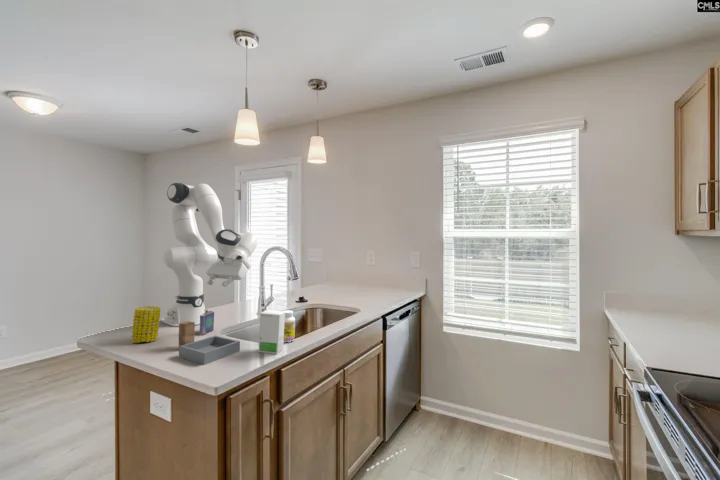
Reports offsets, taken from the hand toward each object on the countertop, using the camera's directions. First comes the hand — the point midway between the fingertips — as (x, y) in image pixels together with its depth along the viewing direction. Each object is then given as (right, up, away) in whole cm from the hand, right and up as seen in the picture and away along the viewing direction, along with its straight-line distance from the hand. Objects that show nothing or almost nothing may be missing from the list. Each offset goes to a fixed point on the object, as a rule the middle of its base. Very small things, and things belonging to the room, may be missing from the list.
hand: (216, 285), depth 147 cm
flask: (-9, -23, +10) cm, 27 cm away
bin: (+5, -24, -18) cm, 30 cm away
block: (-7, -24, -11) cm, 27 cm away
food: (-28, -23, -4) cm, 37 cm away
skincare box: (+27, -25, -12) cm, 39 cm away
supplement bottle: (+31, -25, +1) cm, 39 cm away
